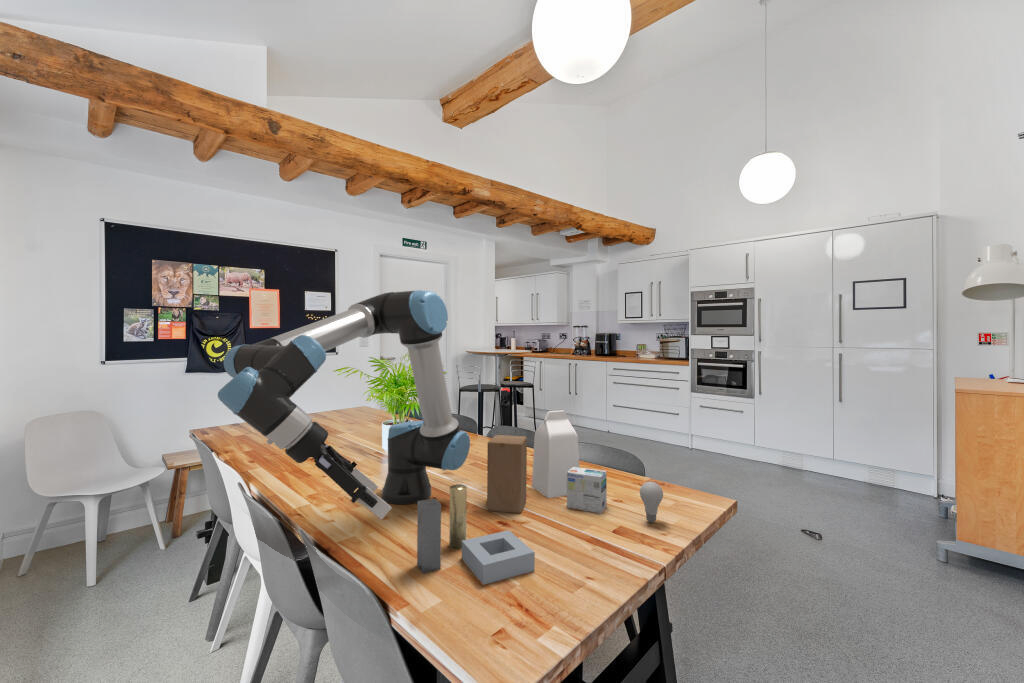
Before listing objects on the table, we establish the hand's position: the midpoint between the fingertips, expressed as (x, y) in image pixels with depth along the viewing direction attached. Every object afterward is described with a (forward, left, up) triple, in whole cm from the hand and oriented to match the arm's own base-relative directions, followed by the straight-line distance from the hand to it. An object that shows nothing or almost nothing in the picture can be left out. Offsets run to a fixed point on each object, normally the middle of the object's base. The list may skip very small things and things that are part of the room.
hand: (379, 501), depth 90 cm
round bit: (+2, +21, -16) cm, 26 cm away
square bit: (+4, +10, -16) cm, 19 cm away
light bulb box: (+15, +62, -16) cm, 65 cm away
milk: (0, +69, -16) cm, 70 cm away
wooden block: (-4, +48, -16) cm, 50 cm away
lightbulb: (+34, +63, -16) cm, 73 cm away
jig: (+15, +20, -16) cm, 30 cm away
